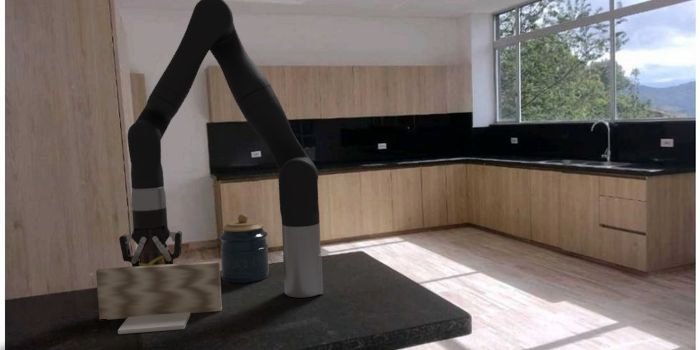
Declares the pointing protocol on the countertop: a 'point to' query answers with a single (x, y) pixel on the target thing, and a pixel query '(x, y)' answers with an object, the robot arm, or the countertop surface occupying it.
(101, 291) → the birch board
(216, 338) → the countertop surface
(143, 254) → the sauce bottle
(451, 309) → the countertop surface
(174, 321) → the white plate
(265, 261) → the canister
